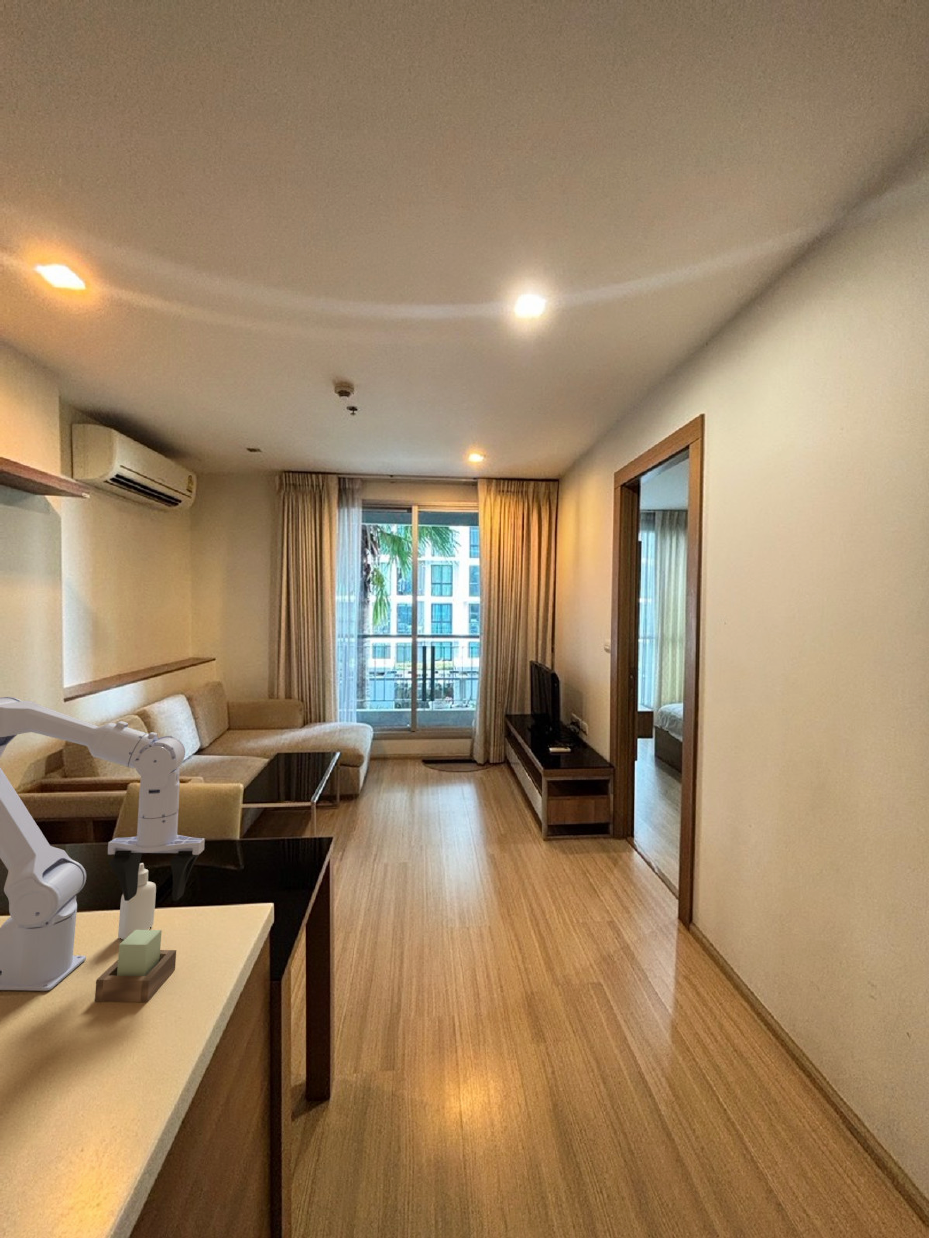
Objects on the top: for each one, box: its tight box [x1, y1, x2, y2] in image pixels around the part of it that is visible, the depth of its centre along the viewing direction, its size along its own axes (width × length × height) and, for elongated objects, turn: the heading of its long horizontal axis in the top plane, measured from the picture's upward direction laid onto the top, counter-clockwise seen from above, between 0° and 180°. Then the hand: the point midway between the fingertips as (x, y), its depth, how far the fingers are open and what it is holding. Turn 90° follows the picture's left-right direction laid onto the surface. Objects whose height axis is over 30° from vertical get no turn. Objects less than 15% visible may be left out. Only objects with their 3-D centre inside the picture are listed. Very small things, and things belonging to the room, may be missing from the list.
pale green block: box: [117, 929, 162, 976], centre depth 78 cm, size 4×4×7 cm
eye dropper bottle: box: [117, 862, 157, 941], centre depth 91 cm, size 4×6×12 cm
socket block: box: [94, 949, 177, 1003], centre depth 77 cm, size 8×8×3 cm
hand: (154, 897), depth 83 cm, fingers open, 7 cm apart
